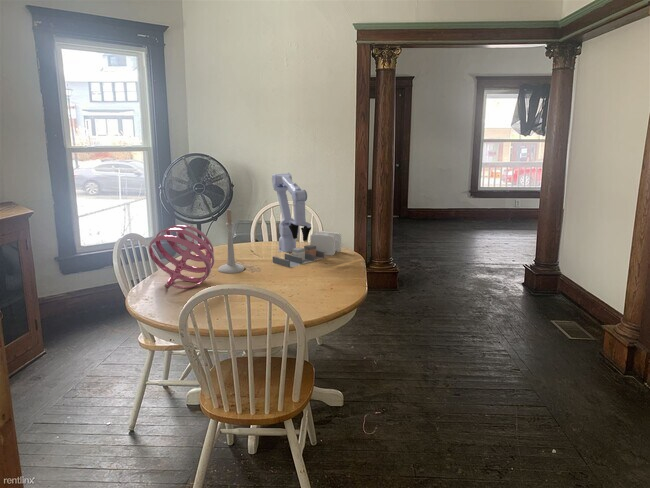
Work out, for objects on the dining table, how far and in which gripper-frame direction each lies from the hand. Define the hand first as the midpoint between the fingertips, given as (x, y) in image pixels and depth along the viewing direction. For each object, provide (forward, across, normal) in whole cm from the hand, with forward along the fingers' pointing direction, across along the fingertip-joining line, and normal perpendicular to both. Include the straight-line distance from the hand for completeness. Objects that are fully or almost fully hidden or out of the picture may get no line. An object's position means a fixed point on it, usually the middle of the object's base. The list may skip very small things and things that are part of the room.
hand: (300, 239), depth 261 cm
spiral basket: (+11, -4, -64) cm, 65 cm away
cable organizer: (+11, +2, +17) cm, 20 cm away
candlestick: (+11, -9, -37) cm, 40 cm away
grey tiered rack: (+10, +4, -4) cm, 12 cm away
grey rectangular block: (+10, +4, -4) cm, 11 cm away
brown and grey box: (+9, +4, +4) cm, 11 cm away
